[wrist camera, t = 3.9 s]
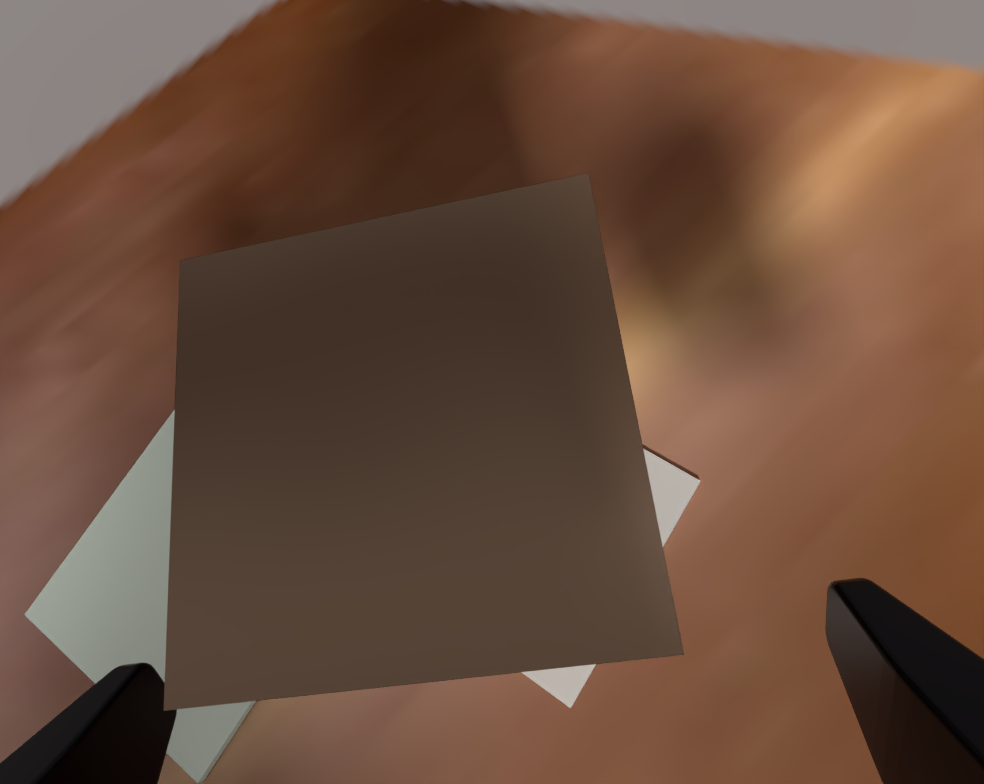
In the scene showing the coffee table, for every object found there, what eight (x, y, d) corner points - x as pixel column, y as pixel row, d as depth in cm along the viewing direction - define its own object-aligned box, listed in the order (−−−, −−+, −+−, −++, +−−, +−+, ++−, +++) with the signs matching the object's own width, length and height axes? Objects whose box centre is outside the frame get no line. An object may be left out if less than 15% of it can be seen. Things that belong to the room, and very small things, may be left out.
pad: (364, 535, 19) (360, 534, 18) (204, 780, 18) (197, 783, 17) (184, 406, 21) (178, 403, 21) (32, 614, 20) (24, 614, 20)
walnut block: (632, 601, 17) (683, 653, 5) (453, 623, 17) (163, 710, 6) (600, 423, 18) (587, 173, 7) (436, 449, 19) (179, 260, 8)
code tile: (700, 481, 17) (701, 480, 17) (571, 707, 16) (570, 708, 16) (494, 364, 20) (493, 363, 19) (368, 559, 19) (366, 558, 18)
